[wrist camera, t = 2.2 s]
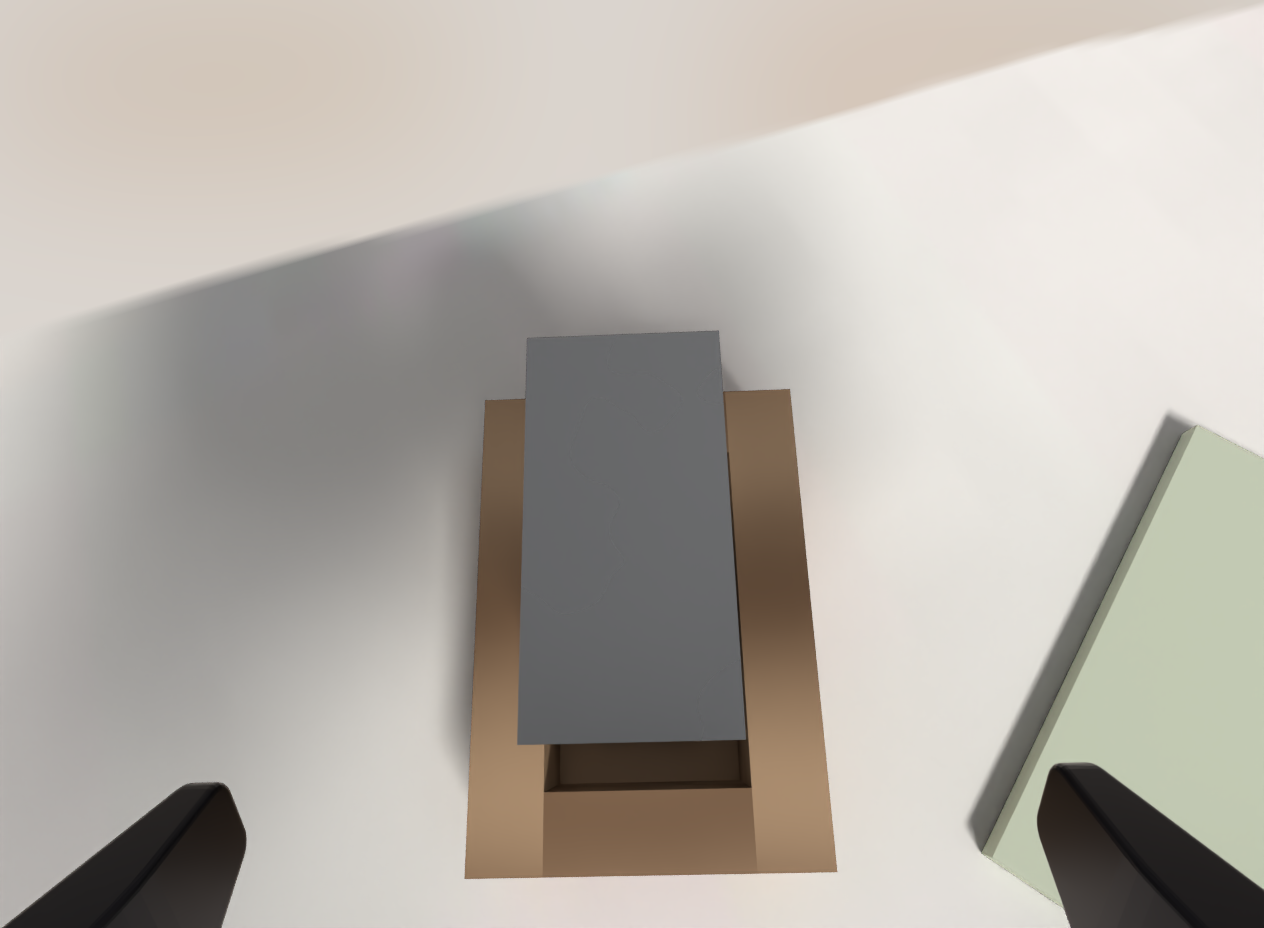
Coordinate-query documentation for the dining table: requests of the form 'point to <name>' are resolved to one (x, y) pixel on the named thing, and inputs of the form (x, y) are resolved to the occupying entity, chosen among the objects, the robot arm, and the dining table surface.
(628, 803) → the slotted box
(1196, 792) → the mat
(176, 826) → the robot arm
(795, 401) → the dining table surface
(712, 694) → the gray rectangular block
